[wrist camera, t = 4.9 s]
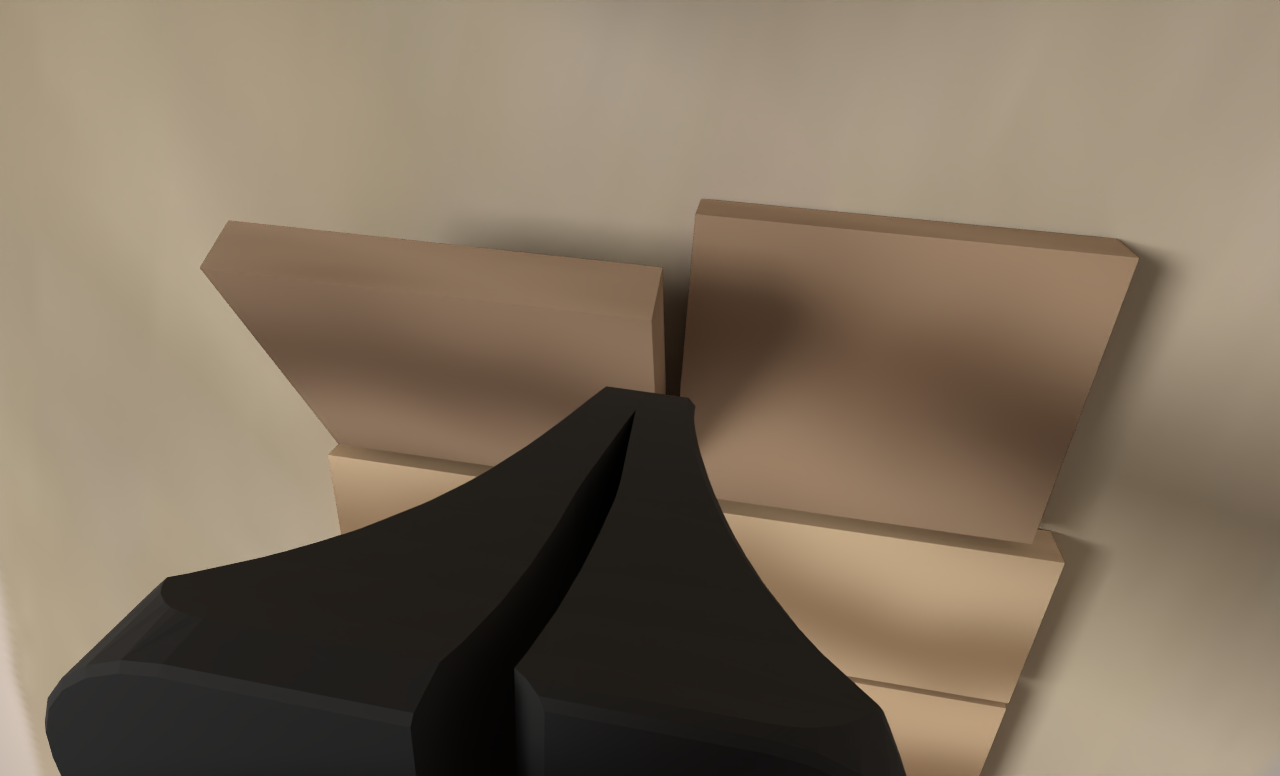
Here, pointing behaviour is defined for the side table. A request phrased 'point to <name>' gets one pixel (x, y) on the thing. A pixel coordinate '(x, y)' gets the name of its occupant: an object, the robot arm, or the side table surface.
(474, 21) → the side table surface
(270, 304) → the plank
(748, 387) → the plank
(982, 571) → the laid oak row
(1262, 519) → the side table surface
